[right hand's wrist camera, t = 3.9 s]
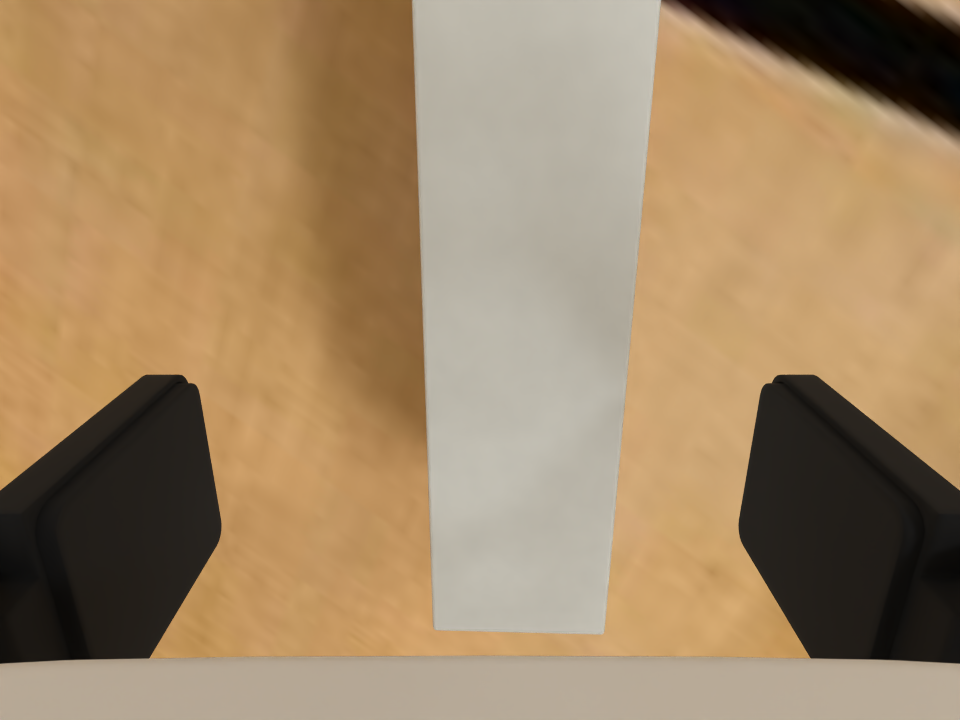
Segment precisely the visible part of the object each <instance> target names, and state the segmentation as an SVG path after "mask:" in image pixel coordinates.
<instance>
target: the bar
mask: <svg viewBox="0 0 960 720" xmlns="http://www.w3.org/2000/svg"><path fill="white" fill-rule="evenodd" d="M660 6H661V0H412V17H413V47H414V76H415V106H416V135H417V165H418V194H419V224H420V253H421V283H422V312H423V342H424V372H425V401H426V431H427V460H428V490H429V519H430V549H431V578H432V608H433V627H434V629H435V630H448V631H487V632H526V633H566V634H603V633H604V630H605V619H606V608H607V597H608V586H609V574H610V563H611V552H612V541H613V530H614V519H615V508H616V496H617V485H618V474H619V463H620V452H621V441H622V430H623V418H624V407H625V396H626V385H627V374H628V363H629V352H630V340H631V329H632V318H633V307H634V296H635V285H636V273H637V262H638V251H639V240H640V229H641V218H642V207H643V195H644V184H645V173H646V162H647V151H648V140H649V129H650V117H651V106H652V95H653V84H654V73H655V62H656V51H657V39H658V28H659V17H660Z"/></svg>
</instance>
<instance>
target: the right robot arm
mask: <svg viewBox="0 0 960 720" xmlns="http://www.w3.org/2000/svg"><path fill="white" fill-rule="evenodd" d="M220 535H221V517H220V511H219V505H218V500H217V494H216V488H215V482H214V476H213V470H212V464H211V458H210V452H209V446H208V441H207V435H206V429H205V423H204V417H203V411H202V405H201V399H200V394H199V390H198V388H197V386H196V385H195V384H192V383H188V382H187V380H186V378H185V377H184V376H183V375H145V376H143V377H141V378H140V379H139V380H138V381H136V382H135V383H134V384H133V385H131V386H130V387H129V388H128V389H126V390H125V391H124V392H123V393H121V394H120V395H119V396H118V397H116V398H115V399H114V400H113V401H111V402H110V403H109V404H108V405H106V406H105V407H104V408H103V409H101V410H100V411H99V412H98V413H96V414H95V415H94V416H93V417H91V418H90V419H89V420H88V421H86V422H85V423H84V424H83V425H81V426H80V427H79V428H78V429H77V430H75V431H74V432H73V433H72V434H70V435H69V436H68V437H67V438H65V439H64V440H63V441H62V442H60V443H59V444H58V445H57V446H55V447H54V448H53V449H52V450H50V451H49V452H48V453H47V454H45V455H44V456H43V457H42V458H40V459H39V460H38V461H37V462H35V463H34V464H33V465H32V466H30V467H29V468H28V469H27V470H25V471H24V472H23V473H22V474H20V475H19V476H18V477H17V478H15V479H14V480H13V481H12V482H10V483H9V484H8V485H7V486H5V487H4V488H3V489H2V490H1V491H0V720H960V491H959V490H958V489H957V488H956V487H955V486H953V485H952V484H951V483H950V482H948V481H947V480H946V479H945V478H943V477H942V476H941V475H940V474H938V473H937V472H936V471H935V470H933V469H932V468H931V467H930V466H928V465H927V464H926V463H925V462H923V461H922V460H921V459H920V458H918V457H917V456H916V455H915V454H913V453H912V452H911V451H910V450H908V449H907V448H906V447H905V446H903V445H902V444H901V443H900V442H898V441H897V440H896V439H895V438H893V437H892V436H891V435H890V434H888V433H887V432H886V431H885V430H883V429H882V428H881V427H880V426H878V425H877V424H876V423H875V422H874V421H872V420H871V419H870V418H869V417H867V416H866V415H865V414H864V413H862V412H861V411H860V410H859V409H857V408H856V407H855V406H854V405H852V404H851V403H850V402H849V401H847V400H846V399H845V398H844V397H842V396H841V395H840V394H839V393H837V392H836V391H835V390H834V389H832V388H831V387H830V386H829V385H827V384H826V383H825V382H824V381H822V380H821V379H820V378H819V377H817V376H815V375H777V376H776V377H775V378H774V380H773V382H772V383H768V384H765V385H764V386H763V388H762V390H761V394H760V399H759V405H758V411H757V417H756V423H755V429H754V435H753V441H752V446H751V452H750V458H749V464H748V470H747V476H746V482H745V488H744V494H743V500H742V505H741V511H740V517H739V535H740V539H741V542H742V544H743V546H744V548H745V549H746V551H747V553H748V554H749V556H750V558H751V559H752V561H753V563H754V564H755V566H756V568H757V569H758V571H759V573H760V574H761V576H762V578H763V579H764V581H765V583H766V584H767V586H768V588H769V589H770V591H771V593H772V594H773V596H774V598H775V599H776V601H777V603H778V604H779V606H780V608H781V609H782V611H783V613H784V614H785V616H786V618H787V619H788V621H789V623H790V624H791V626H792V628H793V629H794V631H795V633H796V634H797V636H798V638H799V640H800V641H801V643H802V645H803V646H804V648H805V650H806V651H807V653H808V655H809V656H810V658H811V659H808V658H753V657H652V656H308V657H207V658H152V659H149V658H150V656H151V655H152V653H153V651H154V650H155V648H156V646H157V645H158V643H159V641H160V639H161V638H162V636H163V634H164V633H165V631H166V629H167V628H168V626H169V624H170V623H171V621H172V619H173V618H174V616H175V614H176V613H177V611H178V609H179V608H180V606H181V604H182V603H183V601H184V599H185V598H186V596H187V594H188V593H189V591H190V589H191V588H192V586H193V584H194V583H195V581H196V579H197V578H198V576H199V574H200V573H201V571H202V569H203V568H204V566H205V564H206V563H207V561H208V559H209V558H210V556H211V554H212V553H213V551H214V549H215V548H216V546H217V544H218V542H219V539H220Z"/></svg>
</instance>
